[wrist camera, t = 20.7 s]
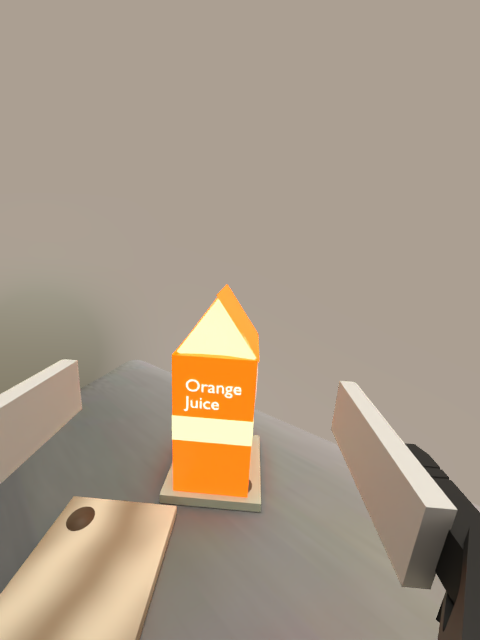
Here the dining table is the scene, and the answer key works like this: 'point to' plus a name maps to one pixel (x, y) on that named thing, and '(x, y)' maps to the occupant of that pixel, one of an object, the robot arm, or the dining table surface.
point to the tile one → (89, 573)
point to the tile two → (220, 501)
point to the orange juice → (215, 401)
